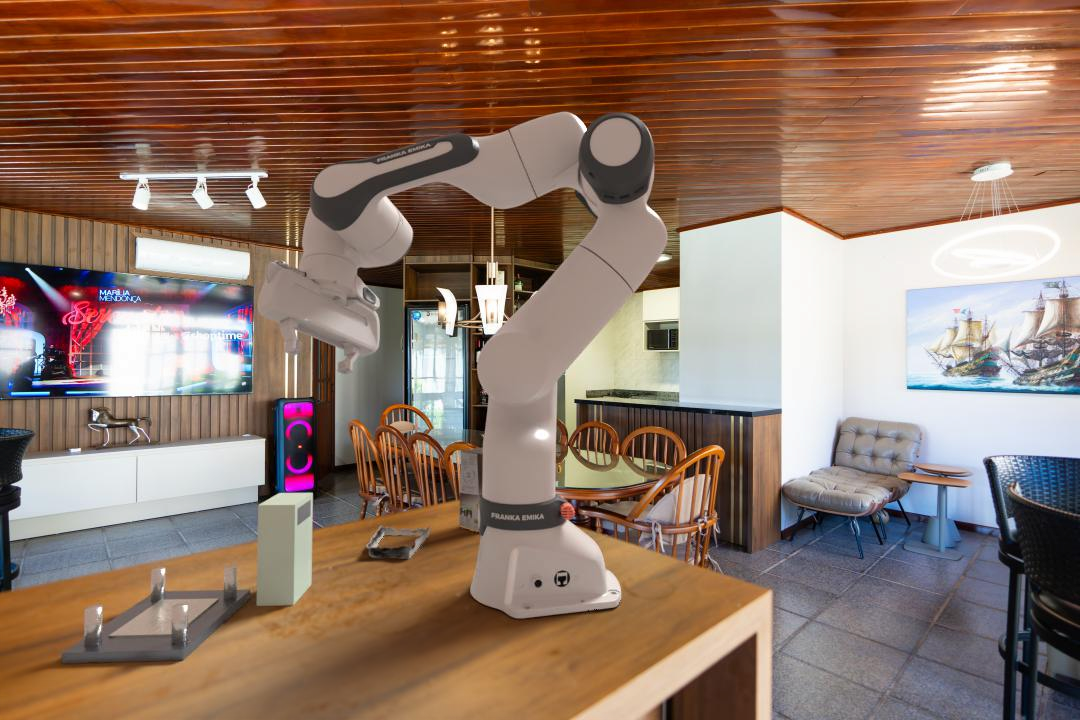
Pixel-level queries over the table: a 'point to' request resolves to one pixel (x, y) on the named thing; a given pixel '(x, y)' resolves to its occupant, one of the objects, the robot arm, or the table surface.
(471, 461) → the coffee box
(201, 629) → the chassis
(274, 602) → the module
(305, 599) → the table surface
